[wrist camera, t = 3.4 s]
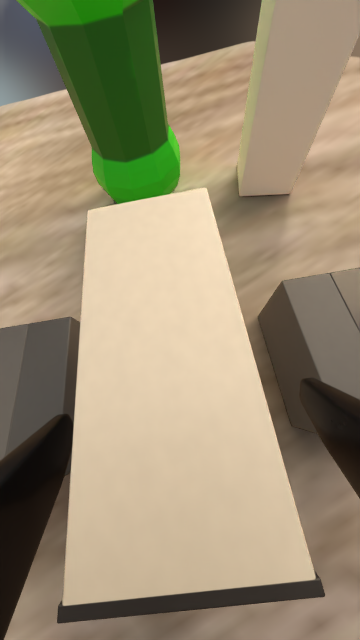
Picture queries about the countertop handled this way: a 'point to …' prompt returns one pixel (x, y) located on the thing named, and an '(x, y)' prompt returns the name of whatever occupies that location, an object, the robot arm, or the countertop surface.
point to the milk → (292, 87)
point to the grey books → (277, 327)
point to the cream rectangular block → (172, 429)
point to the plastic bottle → (115, 90)
